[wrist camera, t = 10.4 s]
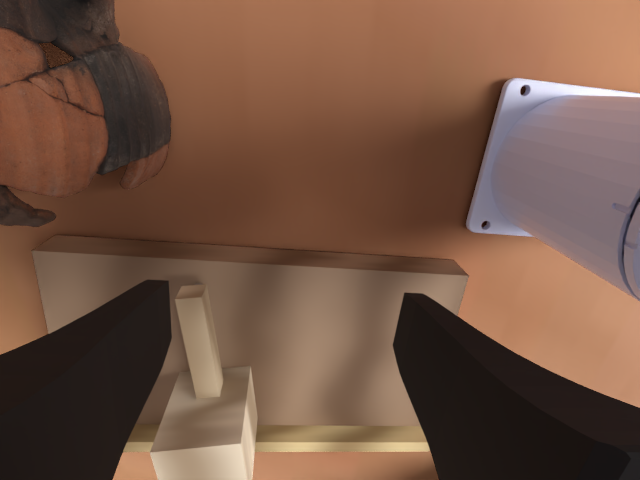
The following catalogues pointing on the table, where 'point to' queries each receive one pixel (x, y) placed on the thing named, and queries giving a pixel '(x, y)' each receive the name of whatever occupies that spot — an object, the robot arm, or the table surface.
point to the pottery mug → (73, 105)
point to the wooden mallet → (206, 406)
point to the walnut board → (271, 331)
